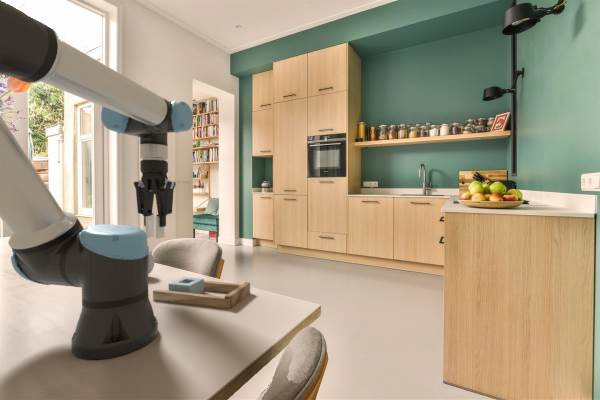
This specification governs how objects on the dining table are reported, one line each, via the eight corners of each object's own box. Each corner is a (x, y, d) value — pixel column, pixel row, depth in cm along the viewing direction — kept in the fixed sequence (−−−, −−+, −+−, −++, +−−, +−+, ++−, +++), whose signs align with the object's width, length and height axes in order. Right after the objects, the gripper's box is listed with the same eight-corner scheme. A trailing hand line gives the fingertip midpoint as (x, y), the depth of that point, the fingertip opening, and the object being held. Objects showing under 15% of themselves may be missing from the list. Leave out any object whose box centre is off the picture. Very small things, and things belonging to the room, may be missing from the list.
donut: (156, 275, 108) (156, 248, 107) (151, 278, 104) (150, 250, 104) (130, 275, 109) (130, 247, 108) (124, 277, 105) (123, 249, 105)
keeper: (189, 299, 84) (189, 285, 84) (168, 297, 86) (168, 283, 86) (203, 291, 91) (203, 278, 91) (184, 289, 93) (184, 276, 93)
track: (229, 308, 78) (229, 296, 78) (153, 299, 84) (152, 288, 84) (250, 293, 90) (250, 282, 90) (181, 286, 96) (181, 276, 96)
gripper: (185, 160, 92) (185, 236, 93) (142, 161, 96) (142, 234, 97) (168, 158, 85) (169, 240, 85) (122, 159, 89) (123, 238, 90)
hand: (155, 237), depth 91 cm, fingers open, 3 cm apart
